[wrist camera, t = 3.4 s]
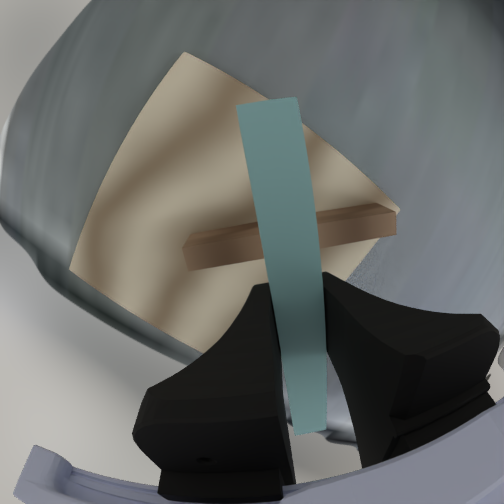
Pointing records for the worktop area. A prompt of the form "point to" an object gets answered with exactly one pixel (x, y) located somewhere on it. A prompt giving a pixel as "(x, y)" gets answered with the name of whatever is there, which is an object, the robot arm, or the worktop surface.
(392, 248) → the worktop surface
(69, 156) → the worktop surface
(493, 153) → the worktop surface
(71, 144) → the worktop surface
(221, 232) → the brown notched bar
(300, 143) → the teal bar
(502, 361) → the cup
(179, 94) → the ash board
